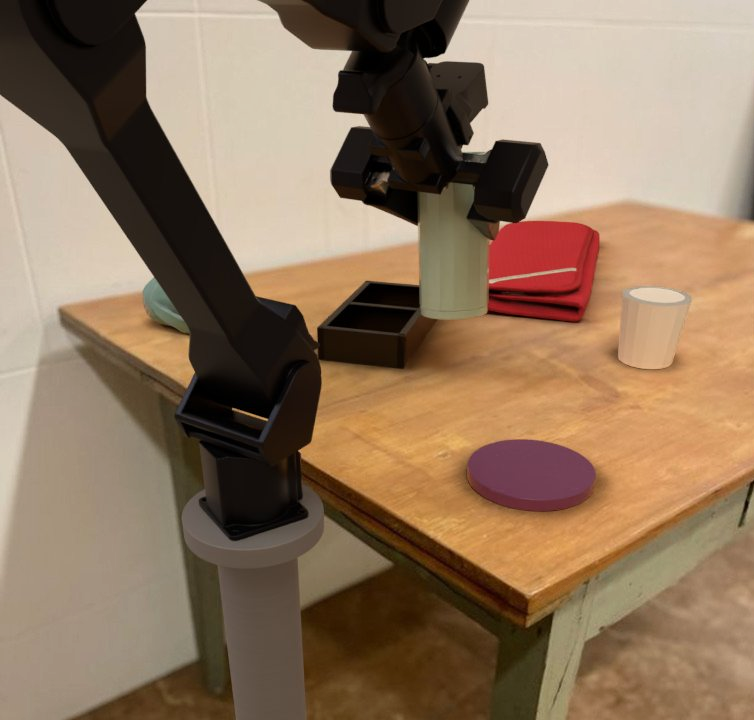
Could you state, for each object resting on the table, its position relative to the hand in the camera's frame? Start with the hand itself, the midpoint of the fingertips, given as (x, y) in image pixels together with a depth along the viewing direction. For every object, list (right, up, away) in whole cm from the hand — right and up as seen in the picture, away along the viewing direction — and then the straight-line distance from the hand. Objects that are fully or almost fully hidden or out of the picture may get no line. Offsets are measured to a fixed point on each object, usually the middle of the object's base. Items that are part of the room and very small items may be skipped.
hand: (461, 230), depth 76 cm
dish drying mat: (+15, +7, +38) cm, 42 cm away
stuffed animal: (-29, -4, +19) cm, 35 cm away
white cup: (+21, -10, +10) cm, 25 cm away
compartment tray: (-7, -6, +16) cm, 19 cm away
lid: (+4, -24, -12) cm, 27 cm away
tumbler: (-1, -7, +2) cm, 7 cm away
